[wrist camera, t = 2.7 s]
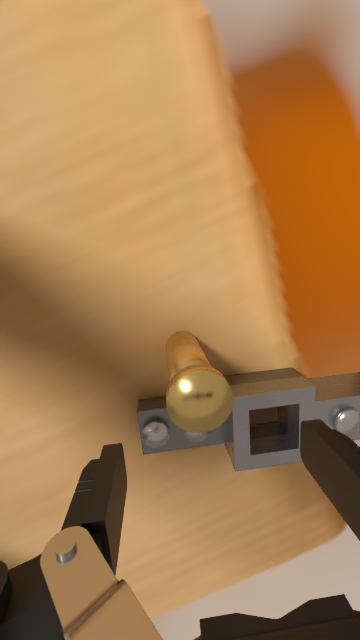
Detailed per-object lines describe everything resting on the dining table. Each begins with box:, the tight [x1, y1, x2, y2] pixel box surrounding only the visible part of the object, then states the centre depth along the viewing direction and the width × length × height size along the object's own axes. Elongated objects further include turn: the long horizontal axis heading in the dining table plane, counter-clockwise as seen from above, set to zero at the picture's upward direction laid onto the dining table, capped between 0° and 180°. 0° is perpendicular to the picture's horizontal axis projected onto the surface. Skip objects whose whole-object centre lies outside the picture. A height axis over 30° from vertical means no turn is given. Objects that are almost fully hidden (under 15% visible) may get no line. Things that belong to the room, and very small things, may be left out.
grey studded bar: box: [137, 368, 360, 471], centre depth 24 cm, size 7×23×5 cm, turn 95°
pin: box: [166, 331, 234, 433], centre depth 20 cm, size 4×4×10 cm
